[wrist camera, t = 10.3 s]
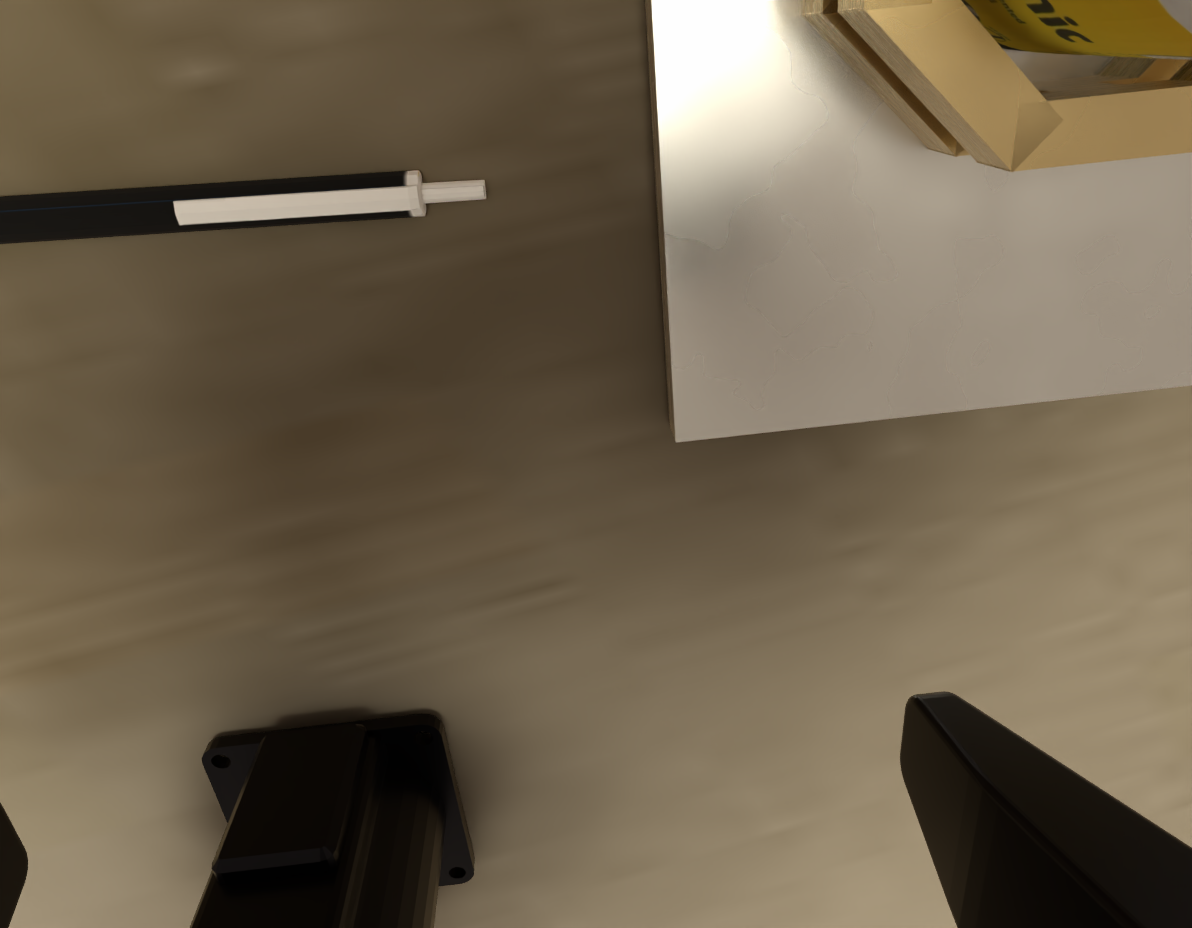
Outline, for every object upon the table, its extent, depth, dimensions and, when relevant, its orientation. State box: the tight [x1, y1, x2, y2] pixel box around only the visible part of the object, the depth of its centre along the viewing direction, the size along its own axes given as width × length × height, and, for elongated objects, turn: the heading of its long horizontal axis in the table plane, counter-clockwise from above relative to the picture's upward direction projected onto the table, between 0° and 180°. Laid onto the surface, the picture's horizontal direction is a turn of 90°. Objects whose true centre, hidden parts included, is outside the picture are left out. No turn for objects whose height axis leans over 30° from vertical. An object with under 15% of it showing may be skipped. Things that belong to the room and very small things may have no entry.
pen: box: [0, 170, 486, 244], centre depth 16 cm, size 1×19×1 cm, turn 93°
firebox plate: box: [645, 0, 1192, 442], centre depth 14 cm, size 16×14×4 cm
